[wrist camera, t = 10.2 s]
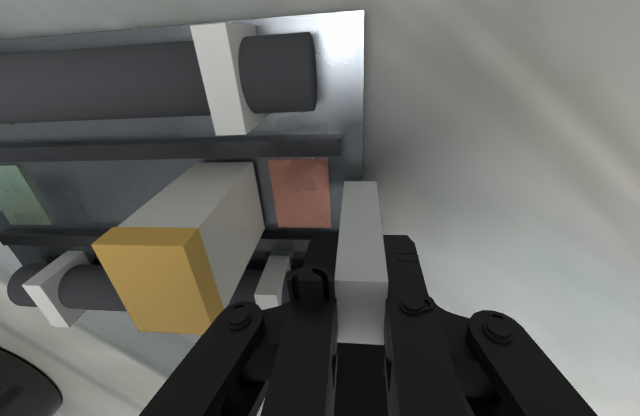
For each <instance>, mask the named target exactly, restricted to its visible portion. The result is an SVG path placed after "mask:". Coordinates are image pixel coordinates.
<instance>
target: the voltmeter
mask: <svg viewBox="0 0 640 416" xmlns="http://www.w3.org/2000/svg"><path fill="white" fill-rule="evenodd" d="M384 361H385V343H384V345H374V344H357V343H340V342H337V374H336V390H335V406H334V416H388V404H387V390H386V377H383V374H384Z"/></svg>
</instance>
